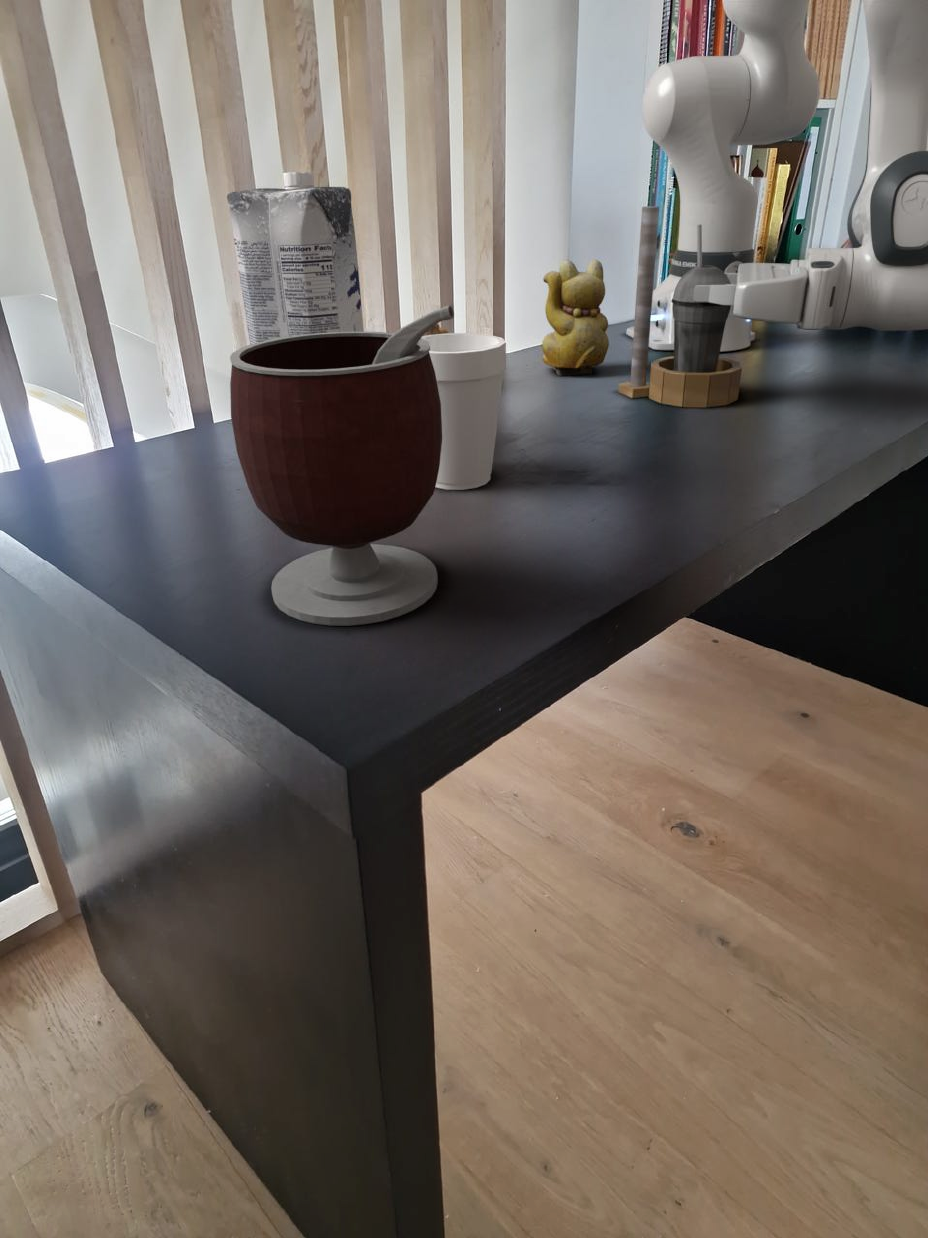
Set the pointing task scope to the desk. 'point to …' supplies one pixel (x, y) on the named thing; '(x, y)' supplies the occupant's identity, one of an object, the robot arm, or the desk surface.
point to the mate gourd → (342, 463)
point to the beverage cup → (698, 319)
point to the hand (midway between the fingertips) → (695, 287)
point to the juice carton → (296, 259)
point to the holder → (663, 378)
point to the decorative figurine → (575, 319)
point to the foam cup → (467, 404)
